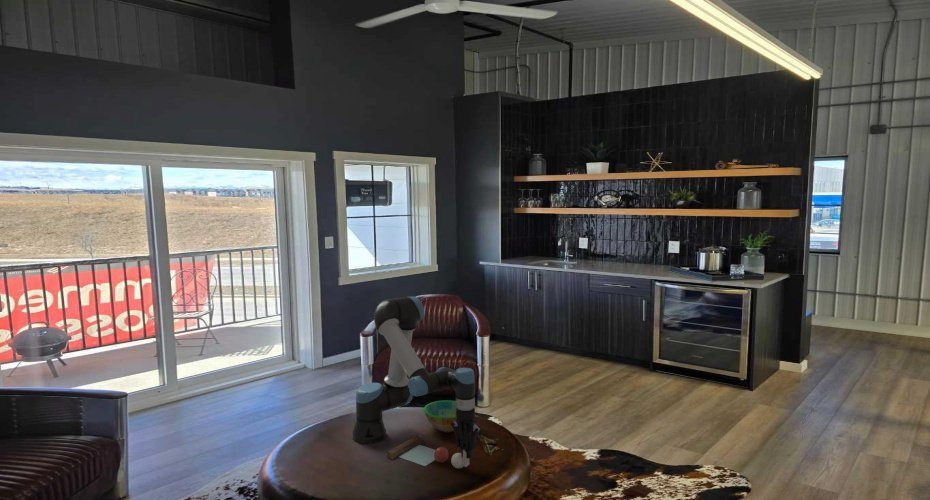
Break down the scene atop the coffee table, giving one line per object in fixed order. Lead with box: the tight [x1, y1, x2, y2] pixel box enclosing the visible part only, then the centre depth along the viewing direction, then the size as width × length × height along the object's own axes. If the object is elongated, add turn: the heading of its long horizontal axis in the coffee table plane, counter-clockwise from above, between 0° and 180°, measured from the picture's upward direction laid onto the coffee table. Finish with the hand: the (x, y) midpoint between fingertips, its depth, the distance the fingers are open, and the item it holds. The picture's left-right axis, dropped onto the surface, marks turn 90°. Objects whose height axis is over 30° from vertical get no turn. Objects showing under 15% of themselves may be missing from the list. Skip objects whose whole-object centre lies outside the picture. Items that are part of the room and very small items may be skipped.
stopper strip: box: [386, 435, 423, 460], centre depth 243 cm, size 2×20×2 cm, turn 146°
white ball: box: [450, 452, 465, 470], centre depth 227 cm, size 6×6×6 cm
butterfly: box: [478, 433, 505, 457], centre depth 247 cm, size 18×4×10 cm
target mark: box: [398, 444, 436, 467], centre depth 238 cm, size 14×14×1 cm
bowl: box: [422, 399, 457, 433], centre depth 264 cm, size 22×22×10 cm
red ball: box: [434, 446, 449, 464], centre depth 232 cm, size 6×6×6 cm
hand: (466, 465), depth 225 cm, fingers closed
